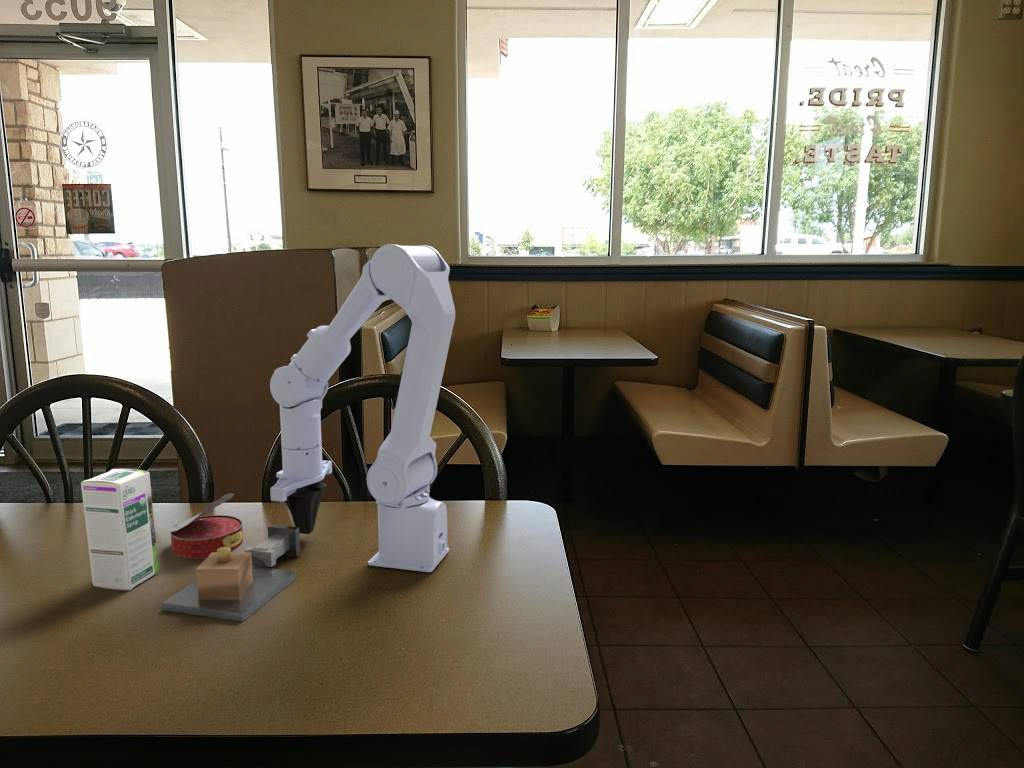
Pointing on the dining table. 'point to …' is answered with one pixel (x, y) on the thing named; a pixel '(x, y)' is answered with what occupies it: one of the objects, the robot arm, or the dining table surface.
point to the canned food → (206, 533)
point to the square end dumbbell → (276, 545)
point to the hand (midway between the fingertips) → (305, 532)
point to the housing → (224, 575)
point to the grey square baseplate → (237, 610)
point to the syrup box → (120, 528)
